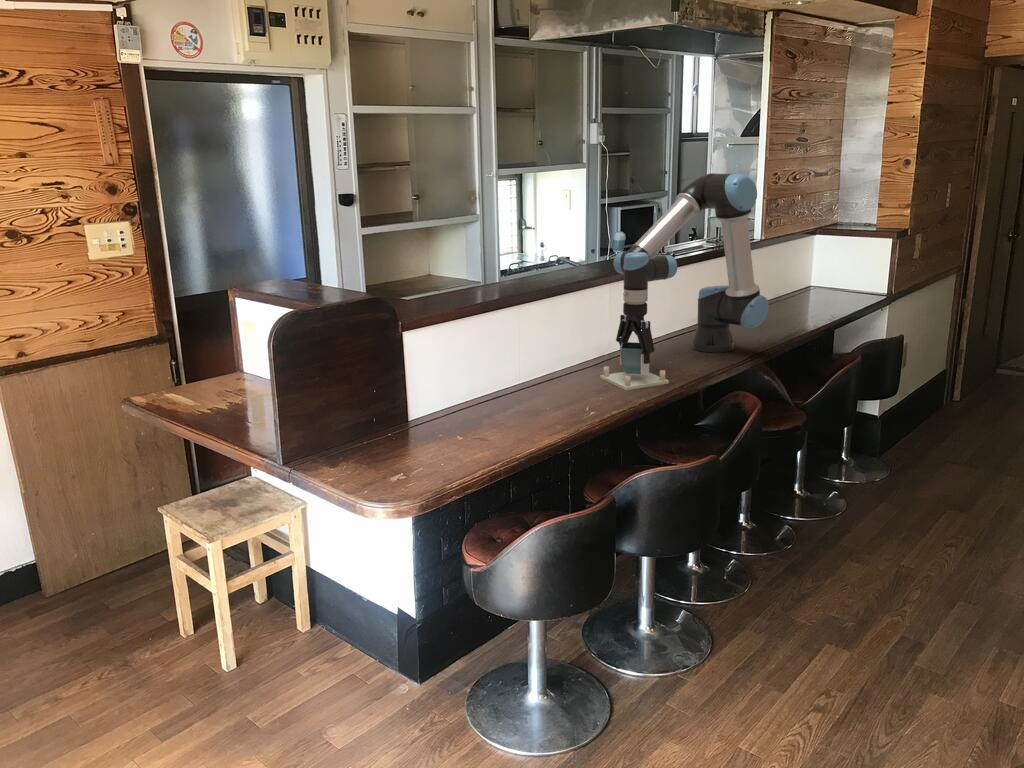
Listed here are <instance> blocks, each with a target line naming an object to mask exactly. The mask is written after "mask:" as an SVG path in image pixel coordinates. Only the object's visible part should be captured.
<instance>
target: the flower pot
mask: <svg viewBox="0 0 1024 768" xmlns="http://www.w3.org/2000/svg"><path fill="white" fill-rule="evenodd" d="M645 350H646V349H645ZM619 353H620V354H621V363H622V365H621V367H622V369H623V372H625V373H626V374H641V353H642V349H641V346H640V343H639V342H630V341H628V342H622V344H621V347H620V346H619ZM620 354H619V355H620Z"/></svg>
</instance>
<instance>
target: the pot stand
mask: <svg viewBox="0 0 1024 768" xmlns="http://www.w3.org/2000/svg"><path fill="white" fill-rule="evenodd" d="M599 379H601V380H603V381H605V382H607V383H609V384H611V385H613V386H616V387H617V388H620V389H621V390H625V391H631V390H638V389H644V388H650V387H656V386H657V387H658V386H663V385H667V384H669V383H670V380H668V379H667V378H666V370H665V369H663V370H662V369H660V370H659V375H656V374H654V373H652V372H650V371H649V373H644V374H626V373H625V371H621V372H614V373H610V366H608V365H607V366H605V365H604V366H603V374H601V375H599Z"/></svg>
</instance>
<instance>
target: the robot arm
mask: <svg viewBox="0 0 1024 768" xmlns="http://www.w3.org/2000/svg"><path fill="white" fill-rule="evenodd" d="M757 189H758V188H757V185H756V183H755V181H754V179H752V178H751V177H750V176H749V175H747V174H740V173H736V172H735V173H716V172H715V173H714V172H713V173H706V174H704V175H703V174H702V175H701V176H700V177H698V178H696V179H694V180H693V181H691V182H690V183H689V184H688V185H686V186H685V187H684V188H683V189H682V190H681V191H680V192H679V193H678V194H677V195H676V198H675V201H674V202H673V204H671V205H670V206H669V208H667V210H666V211H665V212H664V213H663V214H662V215H661V216H660V217H659V218H658V219H657V220H656V221H655V222H654V224H652V225H651V227H649V229H648V230H647V231H646V232H645V233H644V234H643V235H641V237H640V238H639V239H638V240H637V241H636V242H635V243H634V244H633V245H632V247H630V249H628V251H627V250H624V251H619V252H618V253H617V254H615V256H614V258H613V261H612V263H613V267H614V270H615V271H616V272H617V273H618V274H620V275H623V302H624V303H622V305H623V307H622V308H623V309H622V310H623V311H622V312H623V314H620V316H619V317H620V319H619V324H618V325H619V326H618V329H617V334H616V338H615V342H616V343H618V345H619V348H620V347H621V344H622V342H629V339H630V338H631V336H632V333H634V335H636V337H637V340H638V343H640V346H641V349H642V353H641V374H644V373H649V372H650V362H651V360H650V358H651V354H652V353H655V351H656V350H655V347H654V341H653V340H654V339H653V335H652V330H651V321H650V320H647V321H646V320H645V316H646V315H647V314H648V303H647V302H648V301H649V300H648V295H649V294H648V287H649V284H648V283H650V282H654V281H661V280H664V281H665V280H668V279H671V278H674V276H675V275H676V274H677V272H678V263H677V260H676V257H674V256H672V255H670V254H669V255H668V254H667V255H666V254H663V255H657V254H658V253H659V251H661V250H662V248H664V246H665V245H666V244H667V243H669V241H670V240H671V239H672V238H673V237H674V236H675V234H677V233H678V232H679V230H680V229H682V227H683V226H684V225H686V223H687V222H688V221H689V220H690V219H691V218H692V217H696V216H698V215H699V214H700V213H701V212H702V211H704V210H708V209H714V213H715V218H716V219H717V220H719V221H720V223H721V230H722V240H723V248H724V256H725V262H726V263H725V264H726V271H727V281H728V285H712V286H706V287H702V288H700V290H699V291H698V299H697V327H696V329H695V333H694V336H693V339H692V340H691V349H692V350H694V351H698V352H703V353H714V354H715V353H726V352H727V353H728V352H731V351H733V350H734V348H735V347H734V345H735V343H734V339H733V336H732V331H731V326H730V325H734V326H738V327H742V328H750V329H753V328H757V327H759V326H760V325H761V324H762V323H763V322H764V321H765V319H766V318H767V315H768V313H769V307H770V306H769V300H768V299H767V297H765V295H761V290H760V285H757V284H756V283H755V277H754V268H753V267H754V266H753V258H752V251H751V249H752V248H751V239H750V231H749V223H748V221H749V220H748V217H749V216H750V215H751V213H752V209H753V208H754V206H755V204H756V202H757V201H756V200H757V199H758V190H757ZM645 349H646V350H645ZM619 355H620V356H619V357H620V358H619V365H621V366H622V363H621V354H619Z"/></svg>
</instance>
